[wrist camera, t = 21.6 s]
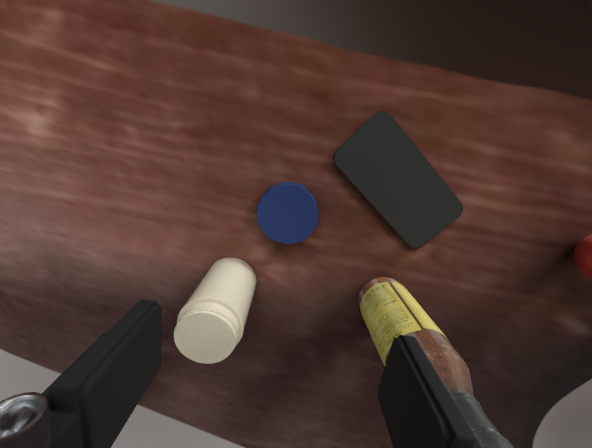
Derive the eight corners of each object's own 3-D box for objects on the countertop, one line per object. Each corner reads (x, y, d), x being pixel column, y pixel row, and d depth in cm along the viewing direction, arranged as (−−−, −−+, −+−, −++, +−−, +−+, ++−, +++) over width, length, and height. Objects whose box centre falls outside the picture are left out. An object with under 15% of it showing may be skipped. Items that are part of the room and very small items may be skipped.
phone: (414, 252, 32) (329, 158, 29) (411, 250, 33) (328, 158, 30) (468, 210, 31) (384, 105, 27) (463, 208, 31) (381, 106, 28)
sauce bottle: (353, 315, 36) (419, 515, 17) (359, 272, 34) (441, 441, 15) (403, 318, 36) (525, 520, 17) (412, 275, 34) (560, 446, 15)
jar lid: (248, 197, 31) (245, 200, 29) (303, 171, 30) (303, 173, 28) (274, 247, 33) (273, 253, 31) (327, 224, 32) (328, 229, 30)
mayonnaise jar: (266, 285, 34) (254, 345, 24) (228, 310, 35) (201, 378, 25) (234, 247, 33) (207, 295, 23) (196, 275, 34) (153, 332, 24)
